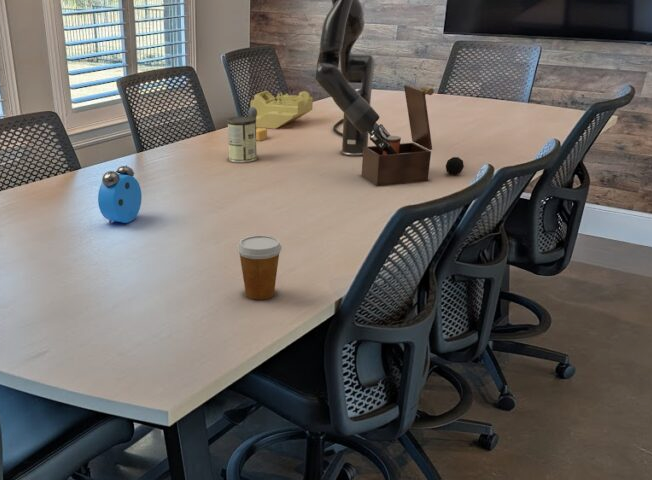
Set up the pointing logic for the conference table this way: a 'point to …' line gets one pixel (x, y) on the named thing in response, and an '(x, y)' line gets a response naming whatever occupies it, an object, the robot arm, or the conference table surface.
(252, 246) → the disposable coffee cup
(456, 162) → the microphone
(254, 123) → the coffee can
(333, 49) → the robot arm
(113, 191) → the alarm clock
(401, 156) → the chest
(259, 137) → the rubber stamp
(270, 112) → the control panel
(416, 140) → the lid
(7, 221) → the conference table surface
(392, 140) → the canister
